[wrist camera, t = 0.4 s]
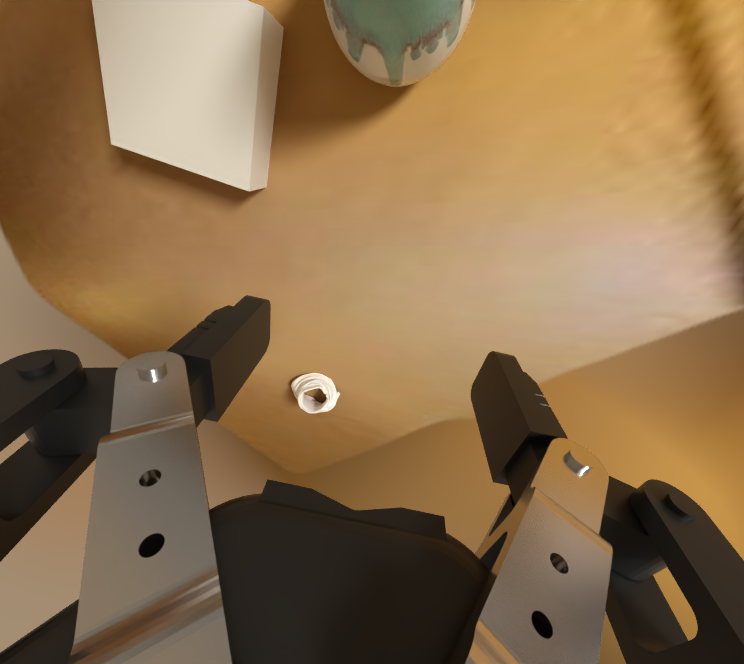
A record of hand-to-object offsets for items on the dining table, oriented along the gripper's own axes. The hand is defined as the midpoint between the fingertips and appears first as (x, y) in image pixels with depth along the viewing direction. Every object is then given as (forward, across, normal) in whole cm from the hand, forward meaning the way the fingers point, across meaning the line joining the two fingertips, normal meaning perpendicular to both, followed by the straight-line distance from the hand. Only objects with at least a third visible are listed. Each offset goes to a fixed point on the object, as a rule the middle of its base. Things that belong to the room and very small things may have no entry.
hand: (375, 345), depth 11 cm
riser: (+29, +22, -7) cm, 37 cm away
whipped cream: (+28, +6, +30) cm, 42 cm away
